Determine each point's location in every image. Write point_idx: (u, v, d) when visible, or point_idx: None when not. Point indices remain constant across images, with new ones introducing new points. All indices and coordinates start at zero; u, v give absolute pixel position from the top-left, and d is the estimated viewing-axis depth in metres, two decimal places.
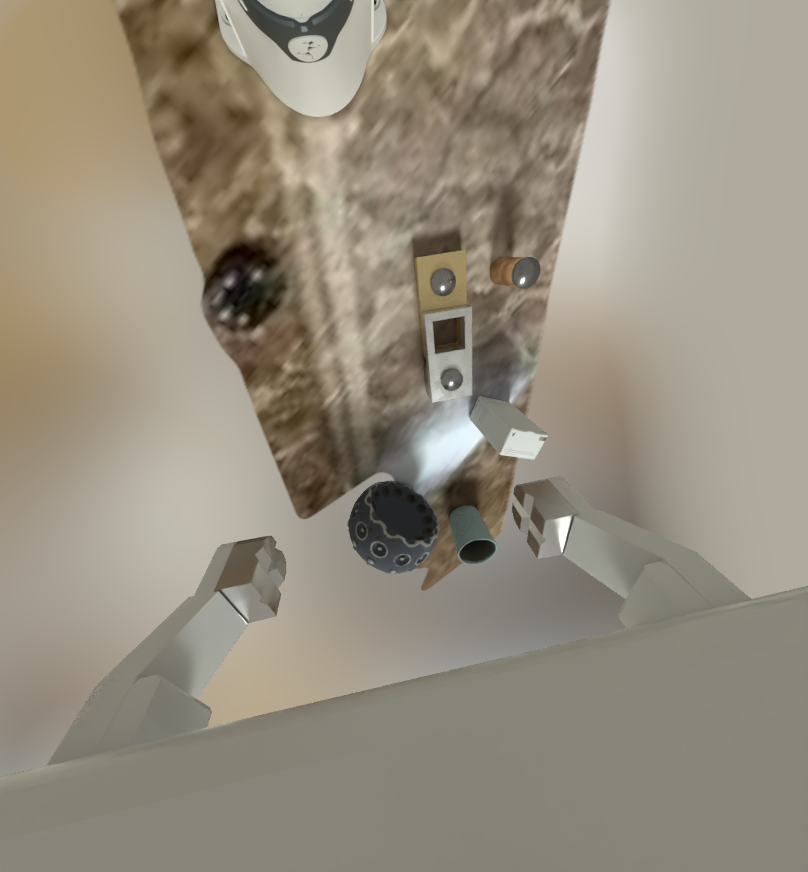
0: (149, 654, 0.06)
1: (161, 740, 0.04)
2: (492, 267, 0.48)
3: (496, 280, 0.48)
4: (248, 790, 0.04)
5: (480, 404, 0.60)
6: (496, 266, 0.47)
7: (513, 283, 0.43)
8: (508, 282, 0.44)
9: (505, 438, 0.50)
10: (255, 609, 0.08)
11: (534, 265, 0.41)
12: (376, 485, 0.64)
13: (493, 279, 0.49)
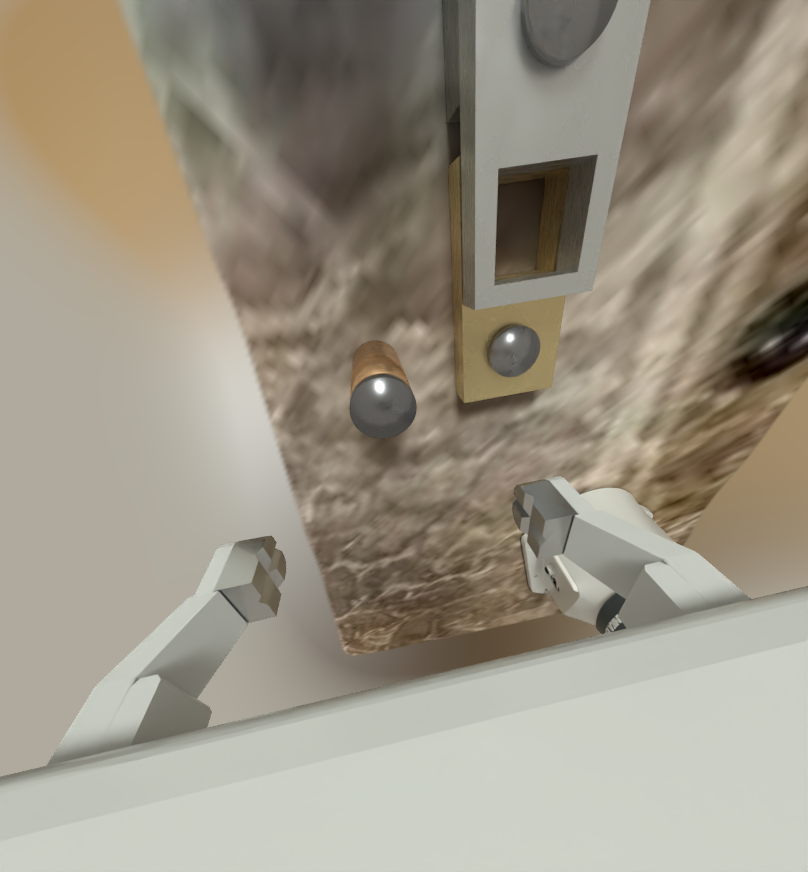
0: (149, 654, 0.06)
1: (161, 740, 0.04)
2: None
3: (396, 356, 0.22)
4: (248, 790, 0.04)
5: None
6: None
7: (405, 382, 0.17)
8: (403, 374, 0.18)
9: None
10: (255, 609, 0.08)
11: (369, 425, 0.17)
12: None
13: (395, 353, 0.23)
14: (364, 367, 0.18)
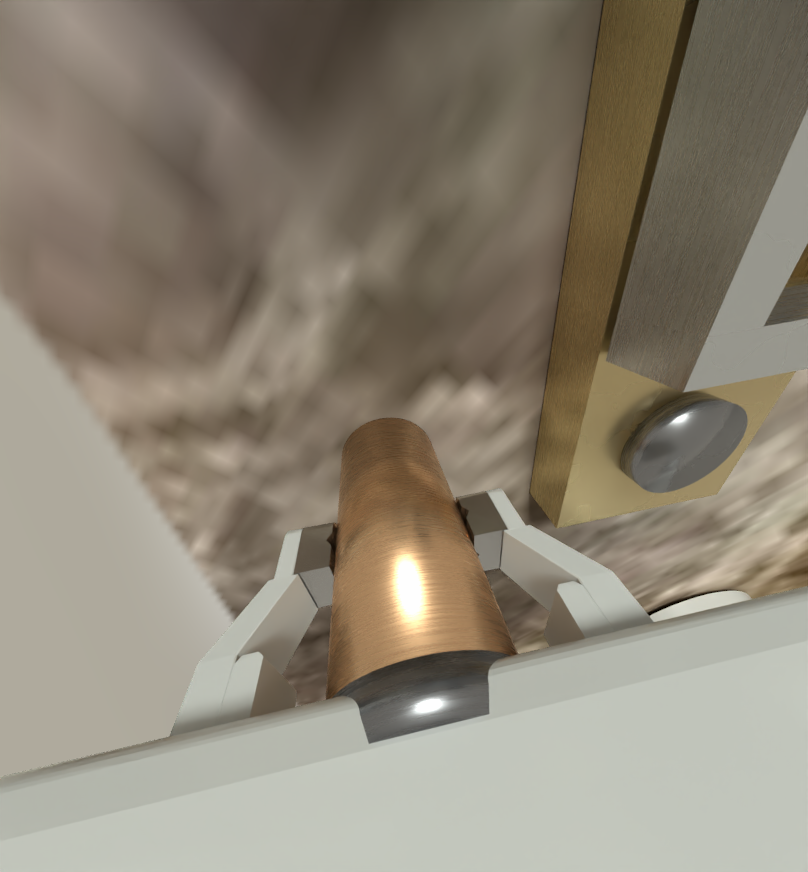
0: (244, 633, 0.06)
1: (161, 740, 0.04)
2: None
3: (435, 461, 0.10)
4: (248, 790, 0.04)
5: None
6: None
7: None
8: (479, 575, 0.06)
9: None
10: (327, 593, 0.08)
11: None
12: None
13: (430, 446, 0.11)
14: (368, 559, 0.06)
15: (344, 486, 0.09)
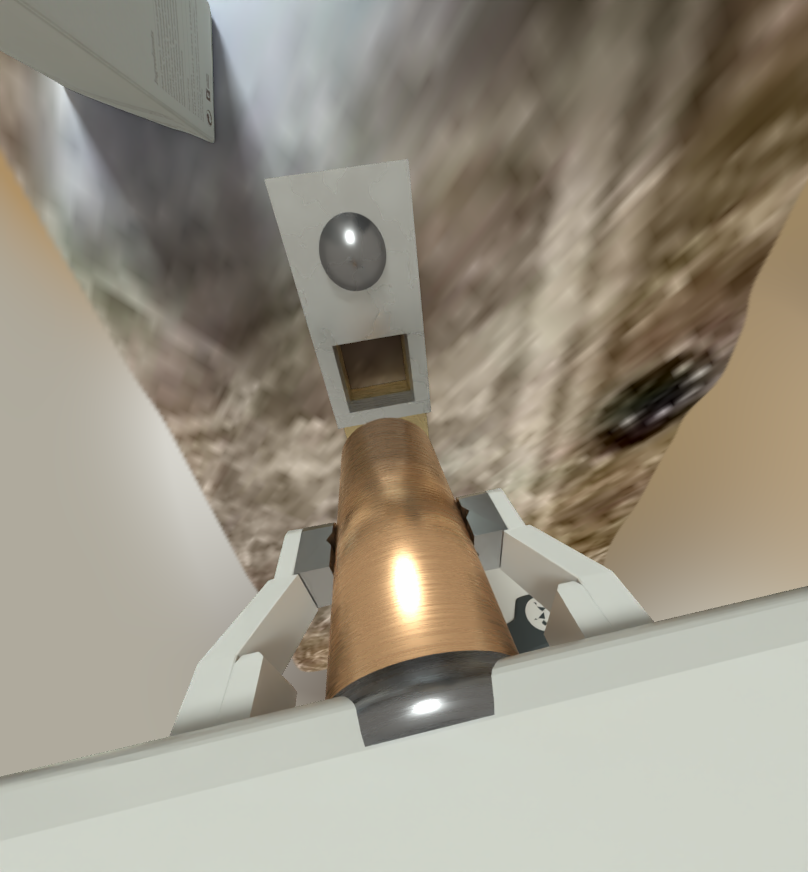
0: (244, 633, 0.06)
1: (161, 740, 0.04)
2: None
3: (435, 461, 0.10)
4: (248, 790, 0.04)
5: (199, 105, 0.16)
6: None
7: None
8: (480, 575, 0.06)
9: None
10: (327, 593, 0.08)
11: None
12: None
13: (430, 446, 0.11)
14: (368, 558, 0.06)
15: (344, 486, 0.09)
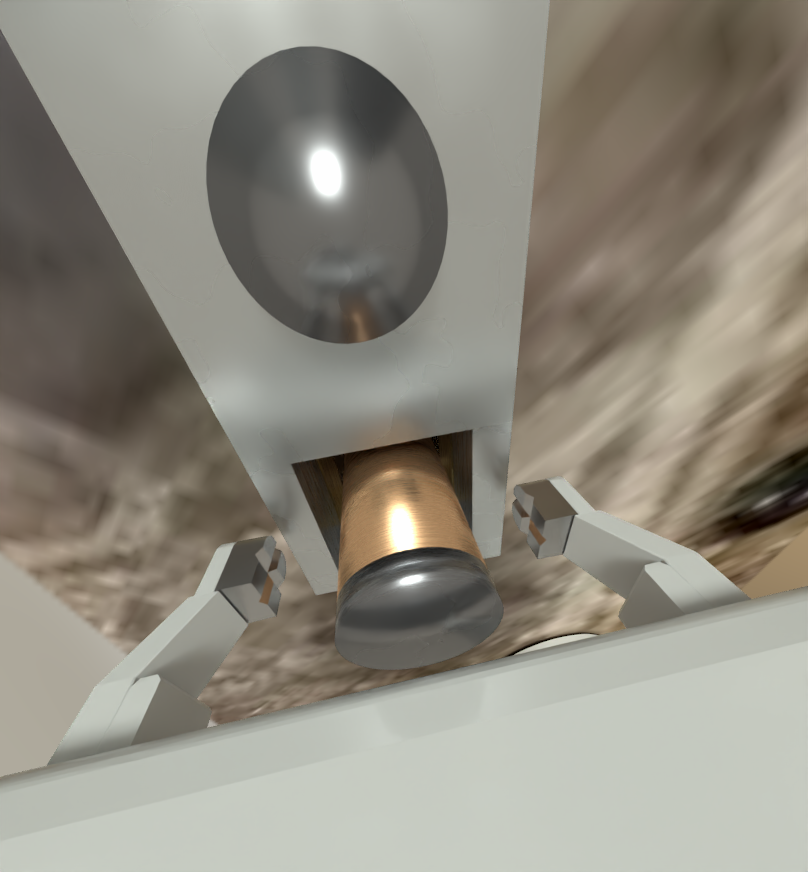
0: (149, 654, 0.06)
1: (161, 740, 0.04)
2: None
3: None
4: (248, 790, 0.04)
5: None
6: None
7: (476, 558, 0.07)
8: (457, 509, 0.08)
9: None
10: (255, 609, 0.08)
11: (384, 656, 0.07)
12: None
13: None
14: (369, 496, 0.08)
15: None
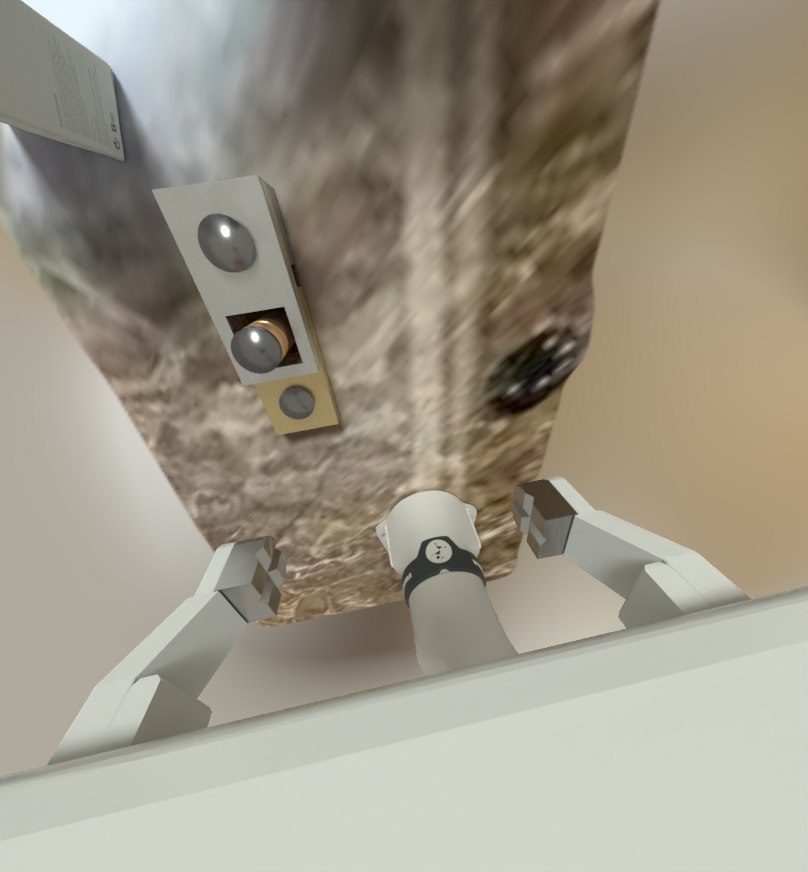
0: (149, 654, 0.06)
1: (161, 740, 0.04)
2: None
3: (286, 321, 0.30)
4: (248, 790, 0.04)
5: (105, 136, 0.22)
6: (294, 341, 0.32)
7: (271, 333, 0.25)
8: (276, 329, 0.26)
9: None
10: (255, 609, 0.08)
11: (248, 363, 0.25)
12: None
13: None
14: None
15: None
